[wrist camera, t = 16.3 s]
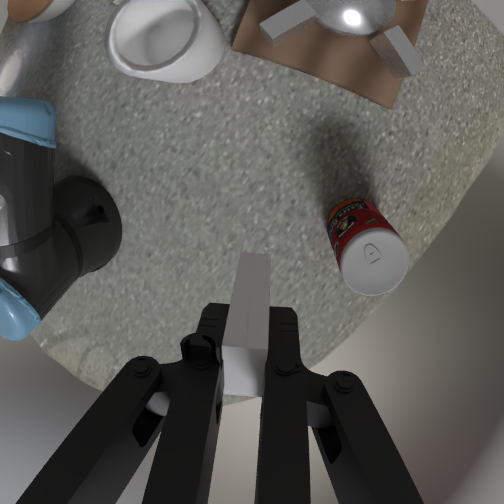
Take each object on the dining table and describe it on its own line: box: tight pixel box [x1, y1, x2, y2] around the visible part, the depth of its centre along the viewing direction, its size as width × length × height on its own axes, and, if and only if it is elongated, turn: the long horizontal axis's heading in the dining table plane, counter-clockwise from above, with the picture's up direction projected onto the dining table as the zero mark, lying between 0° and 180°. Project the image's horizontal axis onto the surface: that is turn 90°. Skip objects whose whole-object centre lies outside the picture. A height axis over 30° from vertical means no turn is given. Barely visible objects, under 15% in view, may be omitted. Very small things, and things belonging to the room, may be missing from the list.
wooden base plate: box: [231, 0, 428, 109], centre depth 25 cm, size 20×20×4 cm
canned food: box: [327, 199, 409, 296], centre depth 35 cm, size 8×8×11 cm
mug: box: [105, 0, 225, 83], centre depth 25 cm, size 14×10×11 cm
